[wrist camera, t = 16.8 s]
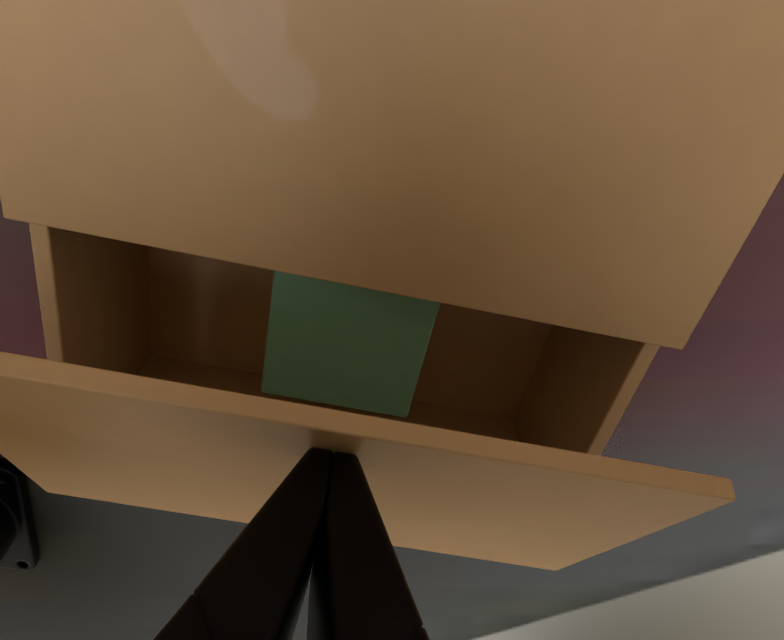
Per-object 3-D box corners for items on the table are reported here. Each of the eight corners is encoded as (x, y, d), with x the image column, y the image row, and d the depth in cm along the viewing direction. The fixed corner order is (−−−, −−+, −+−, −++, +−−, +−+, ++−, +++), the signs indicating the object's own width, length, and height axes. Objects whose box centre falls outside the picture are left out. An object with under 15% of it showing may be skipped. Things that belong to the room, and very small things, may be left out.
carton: (518, 421, 21) (558, 571, 15) (143, 355, 19) (44, 491, 14) (715, -41, 13) (926, -66, 8) (128, -194, 12) (-93, -348, 7)
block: (436, 229, 16) (444, 291, 13) (406, 340, 18) (407, 419, 15) (303, 201, 16) (274, 258, 13) (287, 317, 18) (260, 393, 15)
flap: (555, 555, 15) (556, 571, 15) (53, 477, 14) (46, 492, 14) (731, 477, 9) (737, 500, 9) (-107, 331, 8) (-124, 353, 8)
